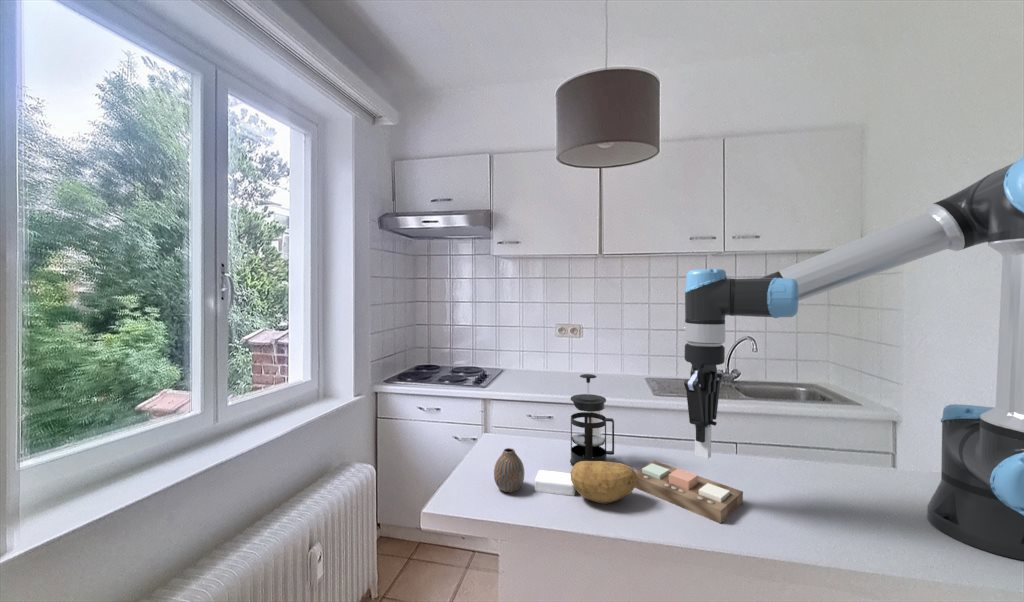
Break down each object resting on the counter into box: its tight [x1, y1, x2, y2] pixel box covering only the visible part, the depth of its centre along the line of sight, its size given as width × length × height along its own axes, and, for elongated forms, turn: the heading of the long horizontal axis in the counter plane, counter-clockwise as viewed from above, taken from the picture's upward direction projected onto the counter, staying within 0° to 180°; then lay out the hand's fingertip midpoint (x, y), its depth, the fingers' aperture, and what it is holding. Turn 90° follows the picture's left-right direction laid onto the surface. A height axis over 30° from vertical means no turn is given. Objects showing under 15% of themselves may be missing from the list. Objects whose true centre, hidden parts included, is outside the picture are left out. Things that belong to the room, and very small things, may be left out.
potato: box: [570, 461, 638, 504], centre depth 85 cm, size 10×14×8 cm
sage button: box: [641, 463, 670, 479], centre depth 92 cm, size 4×4×3 cm
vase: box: [493, 447, 525, 493], centre depth 90 cm, size 7×7×9 cm
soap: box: [534, 469, 577, 497], centre depth 90 cm, size 9×6×3 cm, turn 75°
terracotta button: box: [669, 468, 699, 490], centre depth 87 cm, size 4×4×3 cm
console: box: [634, 460, 744, 524], centre depth 87 cm, size 20×11×3 cm, turn 41°
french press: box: [569, 373, 615, 467], centre depth 102 cm, size 12×9×23 cm
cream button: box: [699, 483, 730, 503], centre depth 82 cm, size 4×4×3 cm
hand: (702, 455), depth 83 cm, fingers closed
